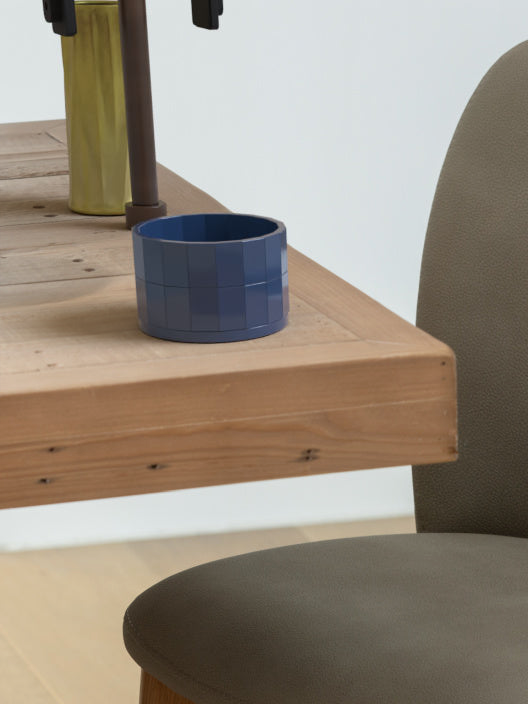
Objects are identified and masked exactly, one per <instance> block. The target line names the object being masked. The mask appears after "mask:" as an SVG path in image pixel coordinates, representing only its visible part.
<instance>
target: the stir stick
mask: <svg viewBox="0 0 528 704" xmlns="http://www.w3.org/2000/svg"><path fill="white" fill-rule="evenodd" d="M117 1H118V15H119V29H120V42H121V56H122V70H123V84H124V98H125V112H126V126H127V140H128V154H129V168H130V182H131V196H132V201H130V202H127V203H125V214H124V215H125V225H126V228H127V229H129V230H131V228H132V227H133V226H135V225H136V224H138V223H140V222H142V221H146V220H150V219H153V218H157V217H164V216H168V207H167V206H168V205H167V202H165V201H163V200H159V199H160V198H159V184H158V183H159V182H158V169H157V168H158V167H157V153H156V139H155V138H156V137H155V122H154V108H153V106H154V105H153V92H152V90H153V89H152V76H151V64H150V63H151V60H150V48H149V47H150V46H149V31H148V15H147V0H117Z"/></svg>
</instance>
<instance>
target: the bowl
mask: <svg viewBox="0 0 528 704" xmlns="http://www.w3.org/2000/svg"><path fill="white" fill-rule="evenodd" d="M130 230H131V242H132V243H131V244H132V254H133V255H132V256H133V269H134V284H135V297H136V310H137V311H136V312H137V321H138V322H137V323H138V327H139V329H140V331H141V332H143V333H145V334H146V335H149V336H151V337H155V338H157V339H161V340H165V341H166V340H167V341H172V342H182V343H195V344H196V343H197V344H198V343H199V344H201V343H203V344H207V343H208V344H212V343H213V344H215V343H229V342H230V343H231V342H240V341H247V340H252V339H253V340H254V339H259V338H261V337H266V336H269V335H272V334H275V333H277V332H280V331H281V330H283V329H284V328H286V327H287V325H288V324H289V322H290V318H289V317H290V316H289V313H290V292H289V291H290V290H289V266H288V265H289V263H288V262H289V261H288V235H287V234H288V233H287V227H286V225H285V223H284V222H283V221H281V220H278V219H275V218H273V217H270V216H264V215H258V214H252V213H238V212H193V213H180V214H172V215H171V214H170V215H167V216H164V217H157V218H153V219H150V220H146V221H142V222H140V223H138V224H136V225H135V226H133V227H132V228H131V229H130Z"/></svg>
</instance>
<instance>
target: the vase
mask: <svg viewBox="0 0 528 704" xmlns="http://www.w3.org/2000/svg"><path fill="white" fill-rule="evenodd" d="M74 1H75V12H76V23H77V34H75V35H74V36H73V37H64V36H61V35H59V37H60V48H61V62H62V68H63V90H64V91H63V93H64V94H63V95H64V113H65V130H66V131H65V132H66V141H67V142H66V145H67V157H68V158H67V160H68V178H69V180H68V183H69V184H68V185H69V186H68V187H69V188H68V202H67V205H68V208H69V209H70V210H71V211H72V212H75V213H78V214H84V215H91V216H92V215H93V216H121V215H122V216H123V215H125V203H127V202H130V201H132V196H131V182H130V168H129V154H128V140H127V126H126V112H125V98H124V84H123V70H122V56H121V42H120V29H119V15H118V1H117V0H74Z"/></svg>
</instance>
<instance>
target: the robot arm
mask: <svg viewBox="0 0 528 704" xmlns="http://www.w3.org/2000/svg"><path fill="white" fill-rule="evenodd" d="M41 2H42V11H43V18H44V20H45V22H46V23H48V24H51V28H52V33H53V34H55V35H58V36H60V35H61V36H64V37H73V36H74V35H75V34H77V23H76V12H75V0H41ZM190 9H191V20H192V21H191V22H192V25H193V26H195V27H196V28H200V29H205V30H208V31H218V30H219V28H220V18H219V16H220V17H221V16H222V15H223V14H224V0H190Z"/></svg>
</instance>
